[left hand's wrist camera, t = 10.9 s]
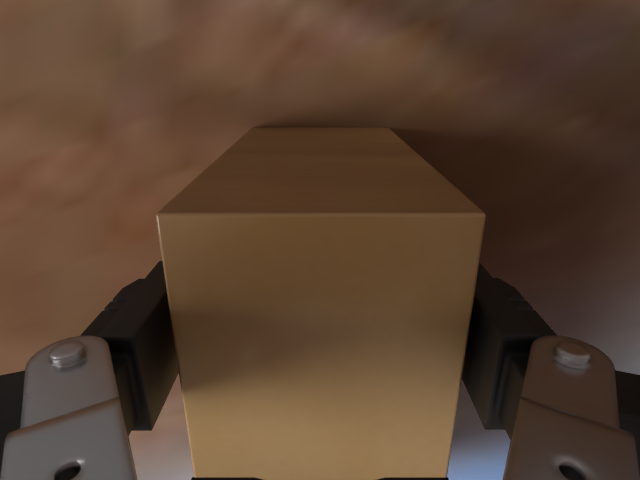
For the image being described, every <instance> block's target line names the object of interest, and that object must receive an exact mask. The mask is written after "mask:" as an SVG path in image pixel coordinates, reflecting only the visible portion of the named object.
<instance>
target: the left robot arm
mask: <svg viewBox="0 0 640 480" xmlns="http://www.w3.org/2000/svg"><path fill="white" fill-rule="evenodd" d="M178 373H179V369H178V363H177V356H176V349H175V343H174V336H173V329H172V322H171V316H170V309H169V302H168V296H167V289H166V282H165V275H164V269H163V262H162V261H159V262H158V264H157V265H156V266H155V267H154V268H153V270H152V271H151V272H150V273H149V274H148V276H147V277H146V278H145V279H138V280H136V281H135V282H133V283H131V284H129V285H128V286H126V287H124V288H122V290H121V291H120V292H119V293H118V294H117V295H116V296H115V297H114V299H113V302H110V303H109V304H108V305H107V306H106V307H105V310H104V311H102V312H101V313H100V314H99V315H98V316H97V318H96V319H95V320H94V321H93V322H92V323H91V324H90V325H89V326H88V328H87V329H86V330H85V331H84V332H83V333H82V334H81V335H80V336H76V337H71V338H67V339H63V340H60V341H57V342H55V343H53V344H50V345H48V346H46V347H45V348H43V349H41V350H40V351H38V352H37V353H36V354H35V355H33V356H32V357H31V359H30V360H29V361H28V363H27V365H26V368H25V371H21V372H16V373H11V374H6V375H1V376H0V480H137V476H136V471H135V466H134V461H133V456H132V452H131V447H130V442H129V438H128V436H129V434H130V432H131V430H152V429H153V427H154V424H155V422H156V420H157V418H158V416H159V414H160V412H161V409H162V407H163V405H164V403H165V401H166V399H167V396H168V394H169V392H170V390H171V388H172V386H173V384H174V381H175V379H176V377H177V375H178ZM462 380H463V382H464V384H465V386H466V388H467V391H468V393H469V395H470V397H471V399H472V402H473V404H474V406H475V408H476V410H477V413H478V415H479V417H480V419H481V421H482V424H483V426H484V428H485V429H505V430H506V432H507V434H508V436H509V438H510V440H511V442H510V447H509V452H508V456H507V461H506V466H505V471H504V476H503V480H640V375H636V374H631V373H626V372H620V371H616V370H615V368H614V365H613V363H612V361H611V360H610V359H609V357H608V356H607V355H605V354H604V353H603V352H602V351H600V350H599V349H597V348H595V347H594V346H592V345H590V344H587V343H585V342H583V341H580V340H577V339H573V338H569V337H563V336H557V335H556V334H555V333H554V332H553V330H552V329H551V328H550V327H549V326H548V325H547V324H546V323H545V321H544V320H543V319H542V318H541V317H540V316H539V315H538V314H537V312H536V311H535V310H533V308H532V307H531V306H530V304H529V303H528V302H527V301H524V298H523V297H522V295H521V294H520V293H519V292H518V291H517V290H516V289H515V288H514V287H513V286H511V285H509V284H507V283H506V282H504V281H502V280H500V279H499V278H492V277H491V276H490V275H489V273H488V272H487V271H486V270H485V269H484V267H483V266H482V265H481V264H480V262H479V266H478V273H477V280H476V286H475V293H474V300H473V306H472V313H471V319H470V326H469V333H468V339H467V346H466V352H465V359H464V366H463V372H462ZM191 480H263V479H259V478H255V477H192V479H191ZM377 480H449V479H448V477H385V478H381V479H377Z"/></svg>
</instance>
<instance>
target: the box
mask: <svg viewBox="0 0 640 480" xmlns="http://www.w3.org/2000/svg"><path fill="white" fill-rule="evenodd" d="M485 220H486V214H485V213H484V212H483V211H482V210H481V209H480V208H479V207H478V206H476V205H475V204H474V203H473V202H472V201H471V200H470V199H468V198H467V197H466V196H465V195H464V194H463V193H462V192H461V191H459V190H458V189H457V188H456V187H455V186H454V185H453V184H451V183H450V182H449V181H448V180H447V179H446V178H445V177H444V176H442V175H441V174H440V173H439V172H438V171H437V170H436V169H434V168H433V167H432V166H431V165H430V164H429V163H428V162H427V161H425V160H424V159H423V158H422V157H421V156H420V155H419V154H417V153H416V152H415V151H414V150H413V149H412V148H411V147H409V146H408V145H407V144H406V143H405V142H404V141H403V140H402V139H400V138H399V137H398V136H397V135H396V134H395V133H394V132H392V131H391V130H390V129H389V128H387V127H253V128H251V129H250V130H249V131H248V132H247V133H246V134H245V135H244V136H242V137H241V138H240V139H239V140H238V141H237V142H236V143H235V144H233V145H232V146H231V147H230V148H229V149H228V150H227V151H226V152H225V153H223V154H222V155H221V156H220V157H219V158H218V159H217V160H216V161H214V162H213V163H212V164H211V165H210V166H209V167H208V168H207V169H205V170H204V171H203V172H202V173H201V174H200V175H199V176H198V177H197V178H195V179H194V180H193V181H192V182H191V183H190V184H189V185H188V186H186V187H185V188H184V189H183V190H182V191H181V192H180V193H179V194H178V195H176V196H175V197H174V198H173V199H172V200H171V201H170V202H169V203H167V204H166V205H165V206H164V207H163V208H162V209H161V210H160V211H158V212H157V213H156V222H157V228H158V235H159V242H160V248H161V255H162V262H163V269H164V275H165V282H166V289H167V296H168V302H169V309H170V316H171V322H172V329H173V336H174V343H175V349H176V356H177V363H178V369H179V376H180V383H181V390H182V396H183V403H184V410H185V417H186V423H187V430H188V437H189V443H190V450H191V457H192V464H193V470H194V477H255V478H259V479H263V480H377V479H381V478H385V477H447V472H448V465H449V458H450V452H451V445H452V438H453V432H454V425H455V419H456V412H457V405H458V399H459V392H460V386H461V379H462V372H463V366H464V359H465V352H466V346H467V339H468V333H469V326H470V319H471V313H472V306H473V300H474V293H475V286H476V280H477V273H478V266H479V260H480V253H481V247H482V240H483V233H484V227H485Z"/></svg>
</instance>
